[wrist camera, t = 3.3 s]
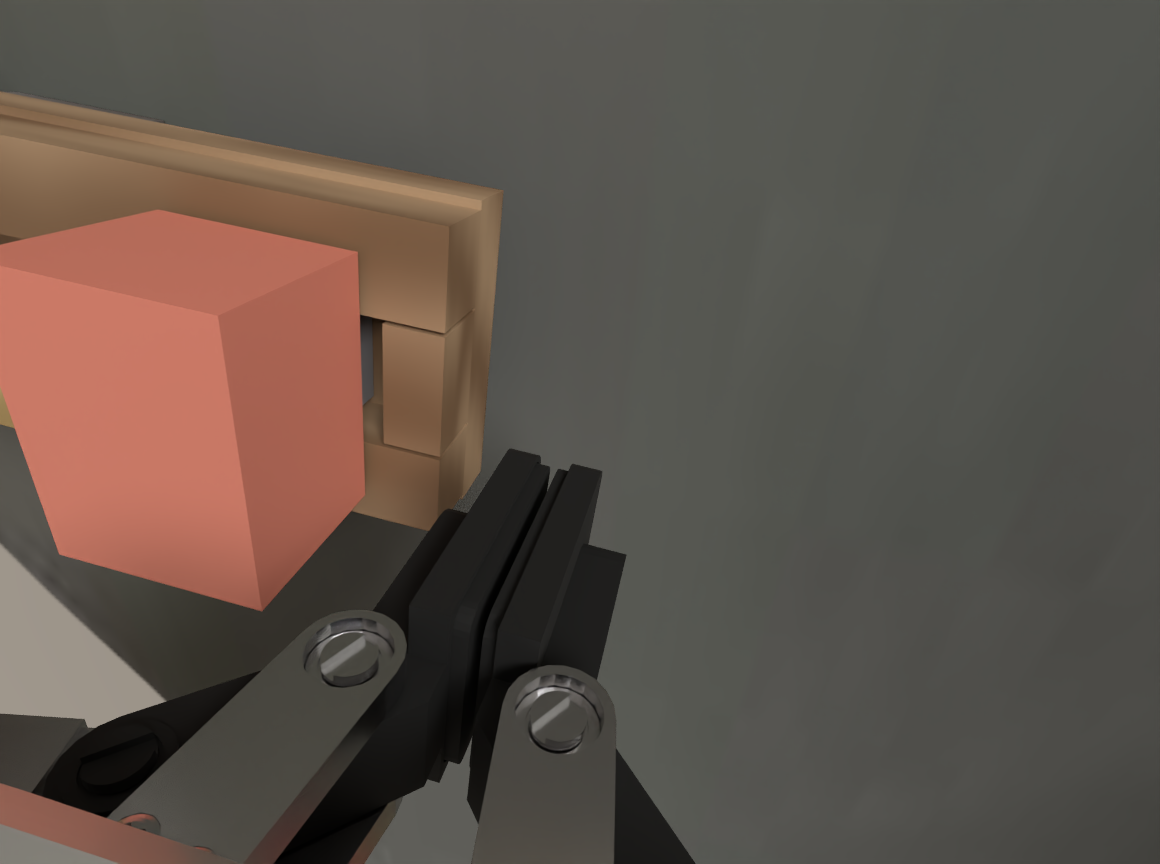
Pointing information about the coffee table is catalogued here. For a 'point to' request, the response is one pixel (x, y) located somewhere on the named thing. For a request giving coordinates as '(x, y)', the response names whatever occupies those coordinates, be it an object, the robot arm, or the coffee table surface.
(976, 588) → the coffee table surface
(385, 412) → the beam
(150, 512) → the block
